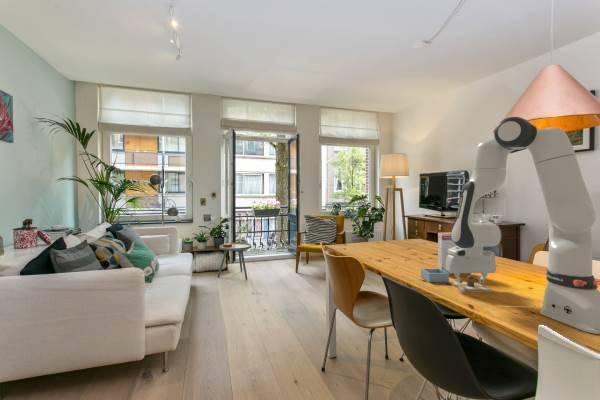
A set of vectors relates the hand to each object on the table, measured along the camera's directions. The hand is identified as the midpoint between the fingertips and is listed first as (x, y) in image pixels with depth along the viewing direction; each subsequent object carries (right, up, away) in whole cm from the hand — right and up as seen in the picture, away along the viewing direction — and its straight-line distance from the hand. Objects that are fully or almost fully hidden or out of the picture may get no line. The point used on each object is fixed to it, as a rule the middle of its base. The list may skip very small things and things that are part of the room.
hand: (470, 283), depth 131 cm
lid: (0, -2, 0) cm, 2 cm away
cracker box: (+5, -2, +23) cm, 24 cm away
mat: (0, -2, 0) cm, 2 cm away
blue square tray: (-10, -2, +12) cm, 16 cm away
